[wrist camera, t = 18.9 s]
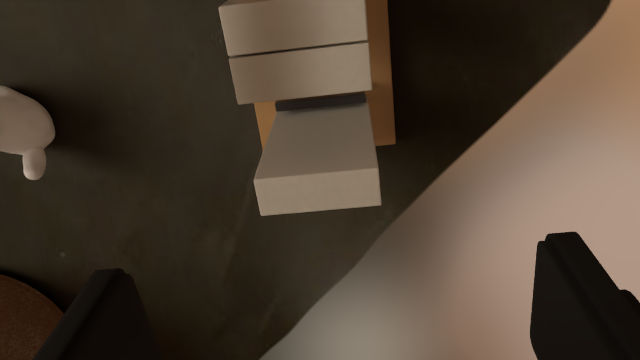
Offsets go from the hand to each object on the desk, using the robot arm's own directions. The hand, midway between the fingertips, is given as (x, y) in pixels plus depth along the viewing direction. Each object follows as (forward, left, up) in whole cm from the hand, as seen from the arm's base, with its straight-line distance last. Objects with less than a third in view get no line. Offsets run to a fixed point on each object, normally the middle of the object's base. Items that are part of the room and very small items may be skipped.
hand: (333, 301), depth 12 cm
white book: (+2, +5, -26) cm, 26 cm away
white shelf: (+2, 0, -27) cm, 27 cm away
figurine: (+25, +3, -27) cm, 36 cm away
